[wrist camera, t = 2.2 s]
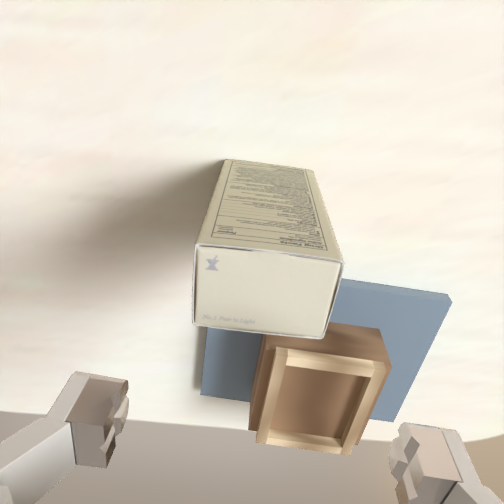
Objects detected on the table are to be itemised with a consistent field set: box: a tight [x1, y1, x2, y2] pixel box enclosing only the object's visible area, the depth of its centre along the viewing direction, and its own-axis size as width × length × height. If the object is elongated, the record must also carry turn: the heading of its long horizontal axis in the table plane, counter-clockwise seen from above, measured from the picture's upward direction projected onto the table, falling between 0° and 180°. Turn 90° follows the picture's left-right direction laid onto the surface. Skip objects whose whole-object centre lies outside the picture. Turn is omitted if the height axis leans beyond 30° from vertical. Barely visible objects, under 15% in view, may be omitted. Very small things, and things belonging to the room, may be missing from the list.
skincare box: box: [192, 159, 345, 339], centre depth 22 cm, size 6×4×12 cm
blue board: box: [200, 279, 452, 422], centre depth 33 cm, size 18×14×1 cm
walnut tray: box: [248, 322, 392, 455], centre depth 31 cm, size 9×10×5 cm
